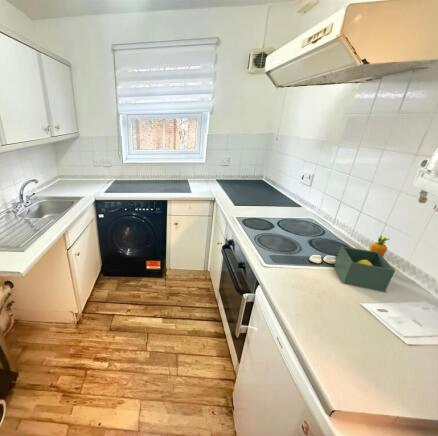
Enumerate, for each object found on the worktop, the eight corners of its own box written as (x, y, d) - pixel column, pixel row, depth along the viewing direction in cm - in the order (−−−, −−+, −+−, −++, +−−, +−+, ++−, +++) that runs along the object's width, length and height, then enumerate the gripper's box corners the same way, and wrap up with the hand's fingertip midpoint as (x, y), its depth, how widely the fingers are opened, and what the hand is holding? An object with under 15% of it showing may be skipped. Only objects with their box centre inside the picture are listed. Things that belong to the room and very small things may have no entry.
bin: (370, 272, 99) (378, 252, 96) (384, 292, 88) (395, 270, 84) (333, 265, 104) (340, 246, 100) (343, 283, 93) (351, 262, 89)
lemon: (349, 271, 99) (356, 254, 96) (366, 275, 96) (374, 258, 93) (352, 278, 94) (359, 261, 91) (370, 283, 92) (378, 265, 89)
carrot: (364, 262, 106) (376, 232, 101) (378, 267, 103) (392, 236, 97) (361, 266, 104) (374, 235, 98) (376, 271, 100) (390, 240, 94)
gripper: (490, 172, 65) (464, 219, 70) (442, 161, 82) (423, 199, 88) (458, 171, 67) (435, 215, 73) (417, 160, 85) (401, 197, 90)
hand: (428, 206), depth 80 cm, fingers open, 8 cm apart
